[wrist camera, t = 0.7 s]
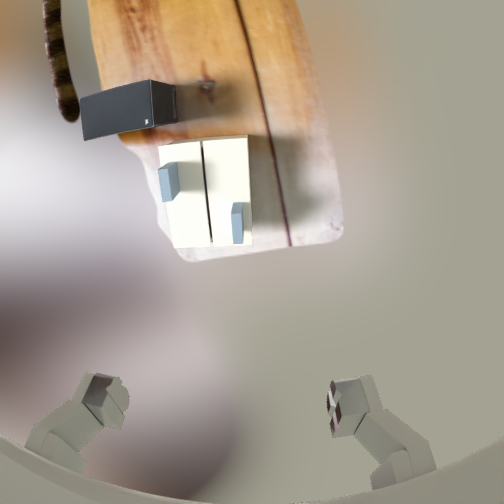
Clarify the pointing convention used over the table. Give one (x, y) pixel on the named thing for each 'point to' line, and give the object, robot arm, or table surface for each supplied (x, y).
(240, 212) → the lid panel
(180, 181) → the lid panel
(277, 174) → the table surface
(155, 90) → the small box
